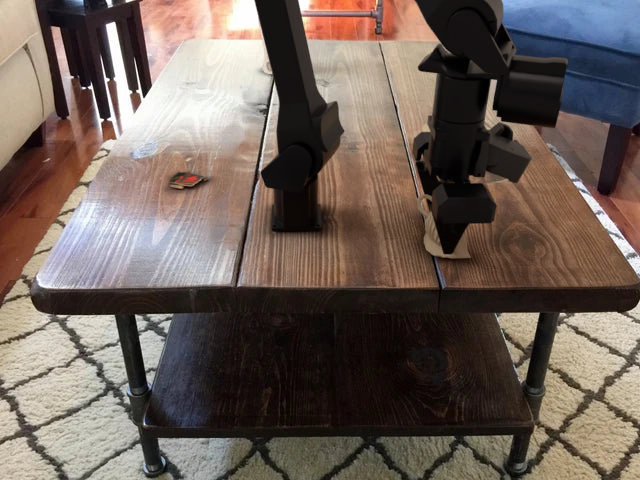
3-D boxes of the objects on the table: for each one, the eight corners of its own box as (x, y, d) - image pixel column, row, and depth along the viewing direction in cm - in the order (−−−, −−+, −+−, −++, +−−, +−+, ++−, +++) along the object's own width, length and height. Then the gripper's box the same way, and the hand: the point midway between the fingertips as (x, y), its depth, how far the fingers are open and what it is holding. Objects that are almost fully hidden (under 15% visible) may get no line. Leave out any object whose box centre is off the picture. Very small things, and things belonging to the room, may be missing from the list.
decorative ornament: (442, 266, 76) (448, 227, 73) (408, 232, 82) (412, 195, 79) (471, 259, 78) (478, 220, 74) (436, 226, 84) (441, 189, 80)
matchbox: (176, 173, 95) (175, 170, 95) (209, 176, 94) (209, 173, 94) (164, 187, 91) (164, 184, 91) (199, 190, 91) (198, 187, 90)
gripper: (559, 149, 63) (528, 279, 72) (508, 86, 78) (488, 201, 87) (446, 149, 62) (429, 281, 72) (417, 86, 77) (406, 201, 86)
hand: (442, 237), depth 79 cm, fingers open, 7 cm apart
